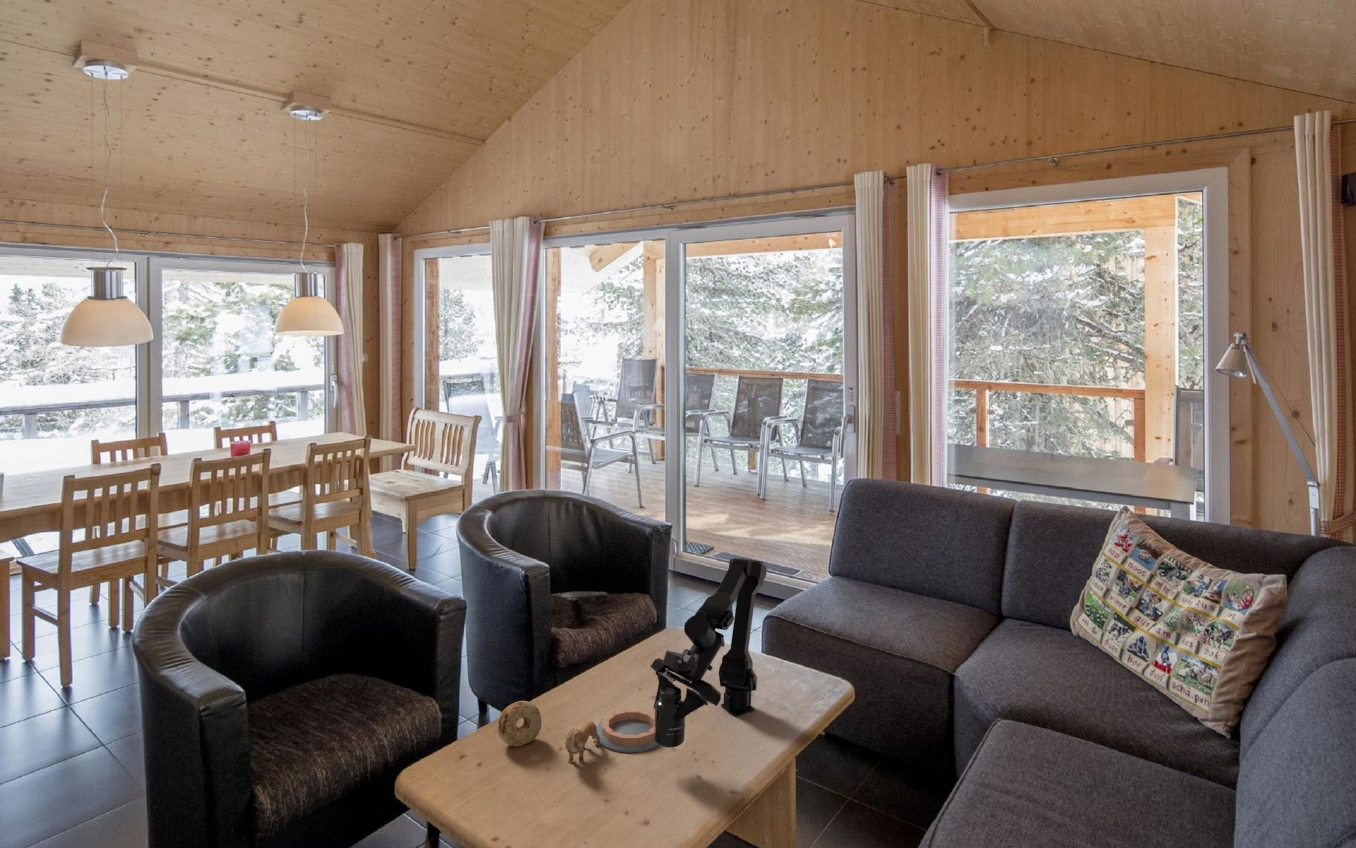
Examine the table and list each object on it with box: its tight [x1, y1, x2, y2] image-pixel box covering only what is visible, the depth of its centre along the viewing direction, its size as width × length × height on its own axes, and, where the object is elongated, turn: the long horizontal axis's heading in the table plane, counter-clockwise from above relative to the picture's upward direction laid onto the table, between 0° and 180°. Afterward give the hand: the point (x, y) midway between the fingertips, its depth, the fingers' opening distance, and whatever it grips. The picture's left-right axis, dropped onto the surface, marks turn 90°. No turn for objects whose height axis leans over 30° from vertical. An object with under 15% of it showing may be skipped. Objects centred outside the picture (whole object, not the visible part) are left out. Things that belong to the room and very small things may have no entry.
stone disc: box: [497, 700, 542, 747], centre depth 190 cm, size 10×4×10 cm, turn 123°
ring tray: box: [595, 708, 660, 754], centre depth 196 cm, size 18×18×3 cm
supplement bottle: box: [654, 685, 686, 748], centre depth 180 cm, size 7×7×12 cm
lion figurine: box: [564, 720, 601, 765], centre depth 186 cm, size 15×5×9 cm, turn 167°
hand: (665, 714), depth 179 cm, fingers closed on supplement bottle, 7 cm apart
